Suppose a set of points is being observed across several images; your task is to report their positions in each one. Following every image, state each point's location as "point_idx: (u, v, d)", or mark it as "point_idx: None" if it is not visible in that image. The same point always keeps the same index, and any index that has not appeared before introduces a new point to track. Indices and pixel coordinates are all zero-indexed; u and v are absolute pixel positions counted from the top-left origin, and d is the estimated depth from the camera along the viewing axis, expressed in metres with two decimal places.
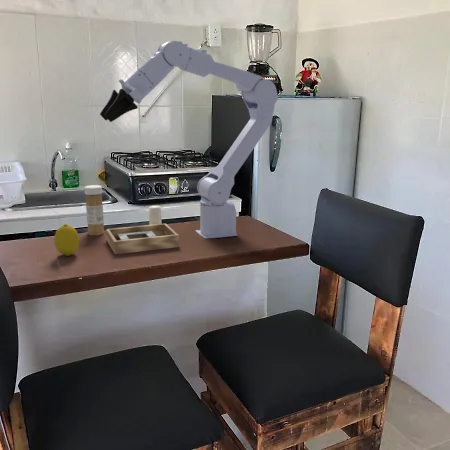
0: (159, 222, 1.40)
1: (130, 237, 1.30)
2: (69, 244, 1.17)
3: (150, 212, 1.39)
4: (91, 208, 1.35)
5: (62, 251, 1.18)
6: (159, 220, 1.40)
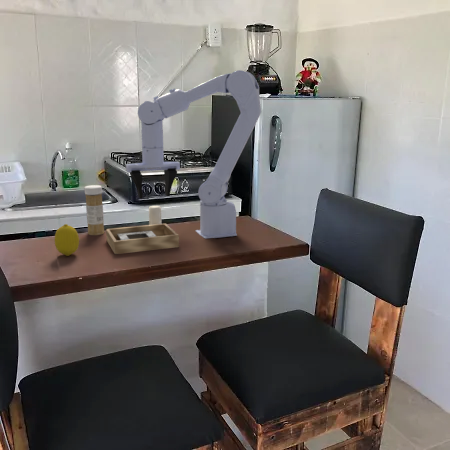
0: (159, 222, 1.40)
1: (130, 237, 1.30)
2: (69, 244, 1.17)
3: (150, 212, 1.39)
4: (91, 208, 1.35)
5: (62, 251, 1.18)
6: (159, 220, 1.40)
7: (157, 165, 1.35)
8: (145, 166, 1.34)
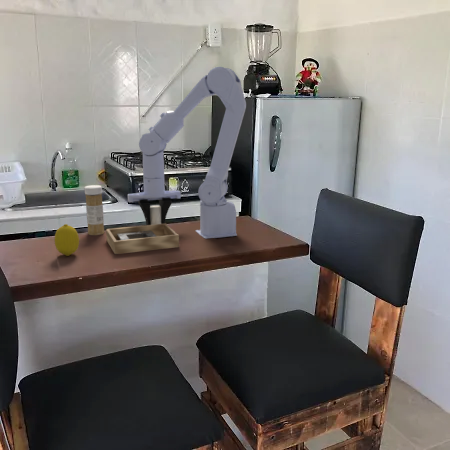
0: (159, 222, 1.40)
1: (130, 237, 1.30)
2: (69, 244, 1.17)
3: (150, 212, 1.39)
4: (91, 208, 1.35)
5: (62, 251, 1.18)
6: (159, 220, 1.40)
7: (158, 195, 1.37)
8: (146, 196, 1.36)
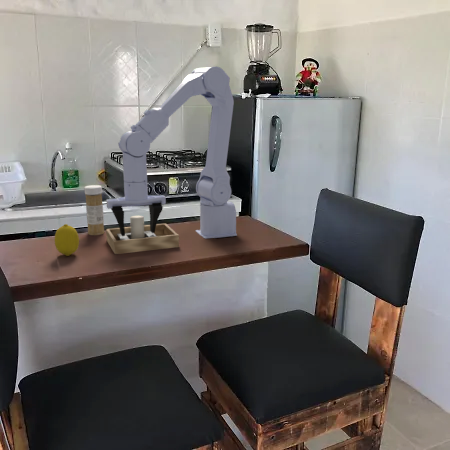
0: (141, 234, 1.27)
1: (130, 237, 1.30)
2: (69, 244, 1.17)
3: (131, 223, 1.26)
4: (91, 208, 1.35)
5: (62, 251, 1.18)
6: (141, 232, 1.27)
7: (140, 201, 1.23)
8: (127, 202, 1.23)
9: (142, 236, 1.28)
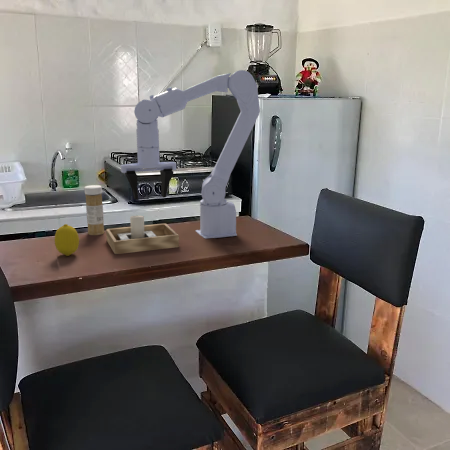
0: (141, 233, 1.27)
1: (130, 237, 1.30)
2: (69, 244, 1.17)
3: (131, 222, 1.27)
4: (91, 208, 1.35)
5: (62, 251, 1.18)
6: (141, 231, 1.27)
7: (153, 165, 1.31)
8: (140, 166, 1.31)
9: (142, 236, 1.28)
